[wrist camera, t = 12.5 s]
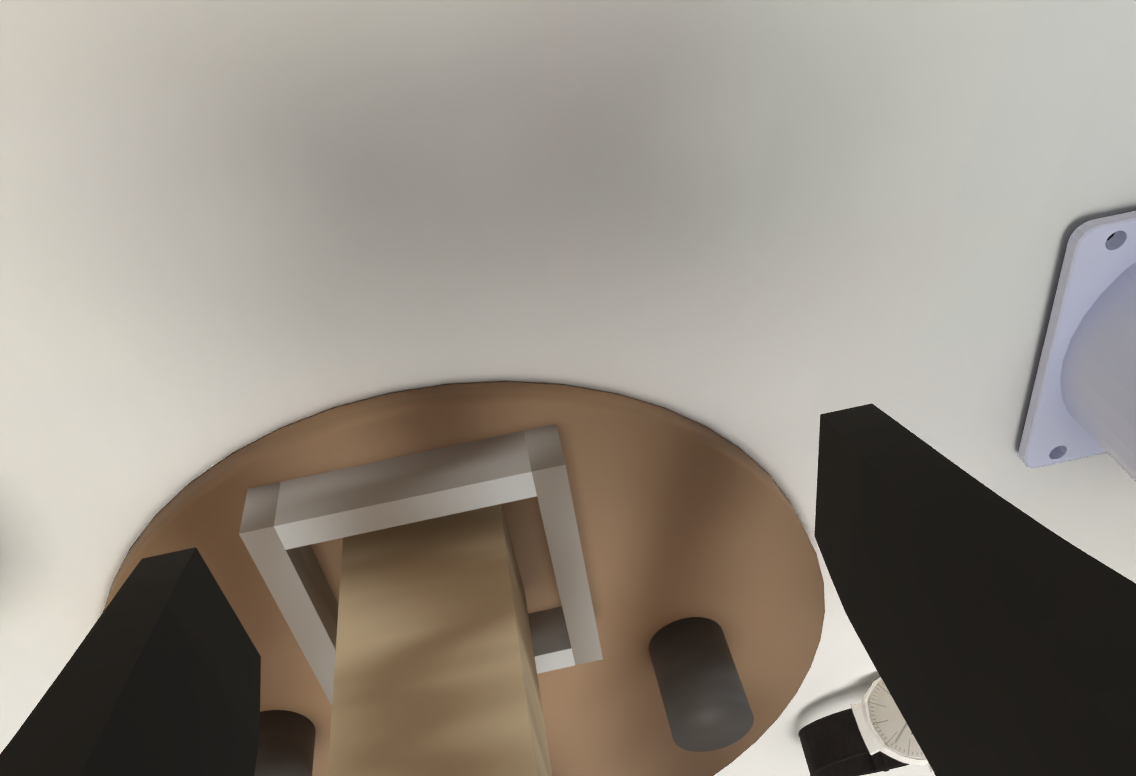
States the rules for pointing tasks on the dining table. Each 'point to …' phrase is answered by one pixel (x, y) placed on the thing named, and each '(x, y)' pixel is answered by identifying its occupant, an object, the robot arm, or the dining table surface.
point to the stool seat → (526, 564)
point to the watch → (861, 738)
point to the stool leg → (435, 654)
